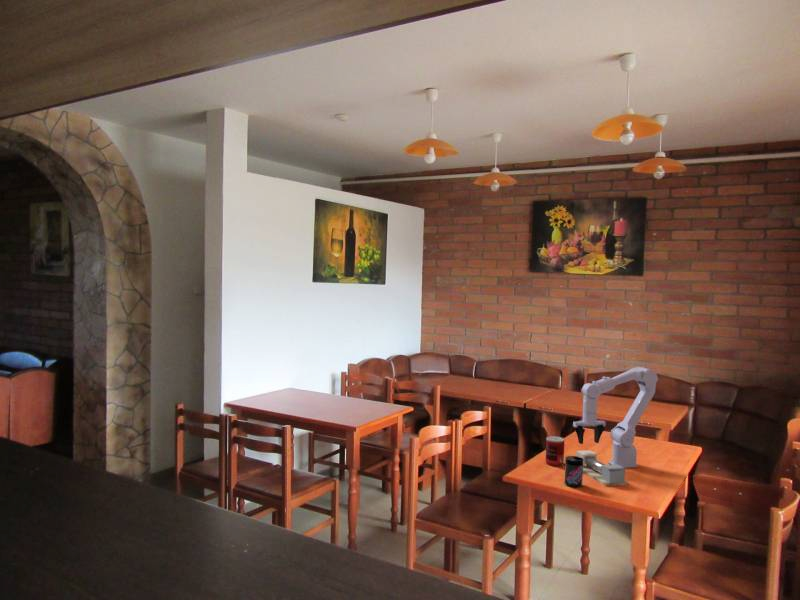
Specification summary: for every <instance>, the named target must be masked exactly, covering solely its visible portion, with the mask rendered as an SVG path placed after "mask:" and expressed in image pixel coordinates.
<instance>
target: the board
mask: <svg viewBox="0 0 800 600" xmlns="http://www.w3.org/2000/svg"><path fill="white" fill-rule="evenodd" d="M583 474H584V475H586V474H587V476H588V475H589V476H588V477H590V478H591V477H592V478H591V479H593V480H594V481H596V480H597V481H596V482H598V483H600V484H602V485H603V486H605V487H615V486H616V485H617V486H618V485H619V486H628V485H630V484H629V483H630V482H629V481H627V480H625V482H621V483H608V482H606V481H605V480H603V479H602V474H601V473H599V472H597V471H596V470H594V469H592V468H591V467H589V466H587V465H585V464H584V467H583ZM617 486H616V487H617Z"/></svg>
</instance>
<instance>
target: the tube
mask: <svg viewBox="0 0 800 600" xmlns="http://www.w3.org/2000/svg"><path fill="white" fill-rule="evenodd" d="M584 464H585V465H587V466H589V467H591V468H592V469H594V470H596V471H597V472H599V473H601V474H602V465H606V464H605V463H603V462H602V461H599V460H598V459H597V460H596V459H594V458H592V457H590V456H585V461H584Z"/></svg>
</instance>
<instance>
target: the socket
mask: <svg viewBox="0 0 800 600" xmlns="http://www.w3.org/2000/svg"><path fill="white" fill-rule="evenodd" d="M625 478H626V468H623V467H621V466H619V465H617V464H616V465H612V464H605V465H602V479H603V480H605V481H606V482H608V483H621V482H625V481H626V479H625Z"/></svg>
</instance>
